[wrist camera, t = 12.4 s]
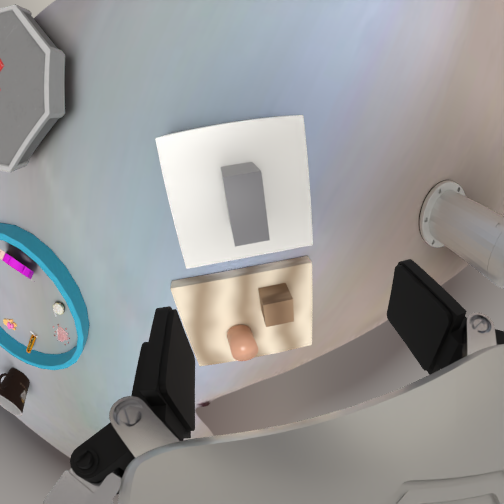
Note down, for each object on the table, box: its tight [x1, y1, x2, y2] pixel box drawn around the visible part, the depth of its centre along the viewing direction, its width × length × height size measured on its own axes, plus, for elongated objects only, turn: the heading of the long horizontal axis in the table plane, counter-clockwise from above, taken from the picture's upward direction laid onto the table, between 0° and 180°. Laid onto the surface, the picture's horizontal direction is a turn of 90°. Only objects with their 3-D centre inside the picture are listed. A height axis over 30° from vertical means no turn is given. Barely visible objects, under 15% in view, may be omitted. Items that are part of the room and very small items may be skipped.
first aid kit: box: [0, 5, 65, 172], centre depth 18 cm, size 18×8×25 cm
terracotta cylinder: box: [227, 325, 258, 361], centre depth 41 cm, size 4×4×4 cm
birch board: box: [171, 256, 312, 366], centre depth 43 cm, size 20×17×2 cm
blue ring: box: [0, 223, 89, 370], centre depth 34 cm, size 30×30×6 cm
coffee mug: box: [0, 368, 30, 416], centre depth 40 cm, size 12×9×10 cm
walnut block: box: [258, 283, 294, 327], centre depth 39 cm, size 4×4×4 cm
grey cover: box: [155, 115, 313, 269], centre depth 28 cm, size 14×14×13 cm
